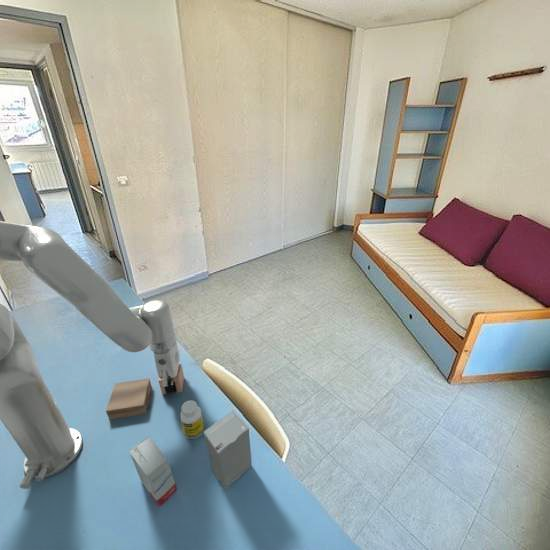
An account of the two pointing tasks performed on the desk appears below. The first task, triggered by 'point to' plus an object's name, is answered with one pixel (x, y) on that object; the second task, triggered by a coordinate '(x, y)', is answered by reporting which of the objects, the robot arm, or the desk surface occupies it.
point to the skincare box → (228, 448)
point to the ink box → (153, 470)
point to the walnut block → (129, 399)
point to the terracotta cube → (175, 380)
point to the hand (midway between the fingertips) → (173, 383)
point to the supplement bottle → (191, 419)
